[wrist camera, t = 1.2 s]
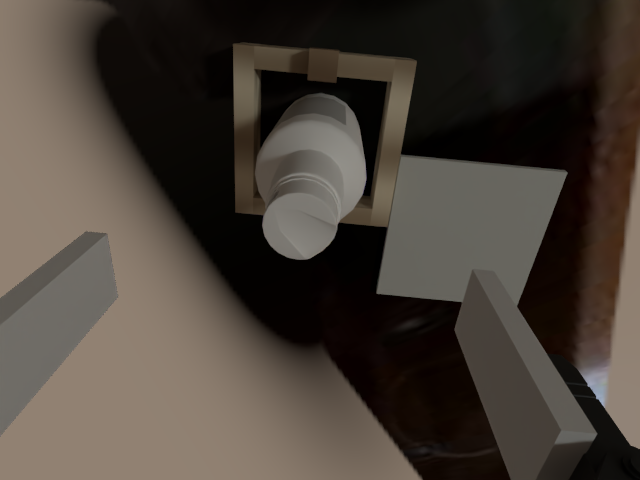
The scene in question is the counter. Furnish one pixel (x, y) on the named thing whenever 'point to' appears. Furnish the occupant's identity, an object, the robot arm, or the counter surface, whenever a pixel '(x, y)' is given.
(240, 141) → the wooden square frame
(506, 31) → the counter surface
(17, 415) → the robot arm
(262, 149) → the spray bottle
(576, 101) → the counter surface
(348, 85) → the counter surface
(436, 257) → the mat
